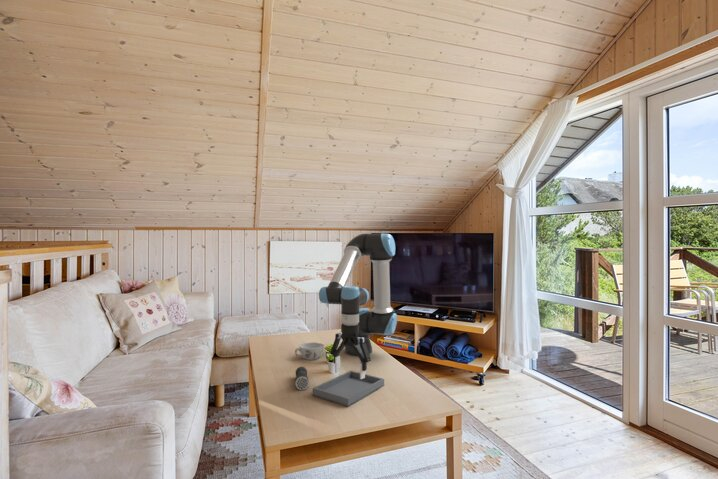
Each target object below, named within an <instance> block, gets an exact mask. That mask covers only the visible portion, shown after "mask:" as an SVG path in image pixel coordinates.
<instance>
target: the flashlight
mask: <svg viewBox="0 0 718 479" xmlns="http://www.w3.org/2000/svg"><path fill="white" fill-rule="evenodd" d="M309 381H310V380H309V377H308V370H307V368H306V367H305V366H299V367H297V368H296V370H295V386H296V387H295V388H297V389H298V390H300V391H304V390H306V389H307V388H308V386H309Z"/></svg>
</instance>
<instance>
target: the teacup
mask: <svg viewBox="0 0 718 479" xmlns="http://www.w3.org/2000/svg"><path fill="white" fill-rule="evenodd" d="M324 347H325V344H323V343H319V342H304V343H301V344H300V345H299V347H297V348H296V349H295V350H294V354H295V355H296V357H300V358H303V359H304V360H306V361H307V360H308V361H309V360H310V361H312V360H318V359H320V358H321V356H322V354H323V351H324ZM298 351H299V352H300V355H299V354H297V352H298Z"/></svg>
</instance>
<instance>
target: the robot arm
mask: <svg viewBox="0 0 718 479" xmlns="http://www.w3.org/2000/svg"><path fill="white" fill-rule="evenodd" d="M395 255H396V242H395V239H394V237H393V235H391V234H389V233H361V234H358V235H356V236H355V237H353V238H352V239H351V240H349V242H348V243H347V244H346V246H345V247H344V250H343V256H342V257H341V259H340V262H339V264H337V265H338V266H337V268H336V270H335V271H334V273H333V275H332V277H331V279H330V282H329V284H328V285H327V286H322V287H320V289H319V291H318V299H319V302H320V303H322V304H328V305H341V306H340V307H341V309H340V312H341V315H340V316H341V317H340V318H341V320H340V322H341V324H340V332H338V333H335V336H334V337H335V338H334V341H333V344H332V346H331V349H330V352H329V354H330V355H332V356H333V364H334V373H335V374H338V373H340V372H341V355H340V354H341V352H343V350H344V353H346V354H348V355H351V356H357V357H358V359H359V360H360V362H359V373H360V379H363V378H365V374H366V371H367V369H368V368H367V366H368V363H369V362H371V360H372V358H371V355H370V354H372V353H373V346H372V341H371V339H370V334H374V335H381V336H391V335H392V336H393V334H394V333H395V331H396V328H397V324H398V314H397V313H395V312H394V308H393V307H392V306H391V283H390V282H391V281H390V277H391V276H390V262H391V261H392V260H393V257H394V256H395ZM363 256H366V257H367V256H368V257H369V260H370V261H371V263H372V271H373V272H372V273H373V274H372V275H373V276H372V277H373V301H374V302H373V305H374V306H373V308H371V311H370V308H369V307H361V308H360V306H363V305H366V303H368V301H369V299H370V292H369V291H368V290H367V289H366V288H364V287H359V286H356V285H347V284H348V282H349V280H350V277H351V275H352V273H353V271H354V268H355V267H356V265H357V262H358V261H359V260H361V258H362V257H363ZM341 340H342V341H341Z"/></svg>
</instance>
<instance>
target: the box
mask: <svg viewBox="0 0 718 479" xmlns="http://www.w3.org/2000/svg"><path fill="white" fill-rule="evenodd" d="M384 386H385V378H382V377H378V376H376V375H375V376H374V375H370V374H366V373H365V378H363V379H360V371H359V372H358V371H354V370H349V371H347V372H344V373H342V374H340V375H338V376H336V377H334V378H332V379H329V380H327V381H325V382H323V383H321V384H319V385H316V386H314V387H312V397H315V398H319V399H322V400H324V401H328V402H331V403H334V404H337V405H340V406H345V407H347V408H349V407H351V406H353V405H355V404H356V403H358V402H359V401H361V400H363V399H364V398H367V397H368V396H369V395H371V394H374V392H376V391H378V390H379V389H381V388H383V387H384Z"/></svg>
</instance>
